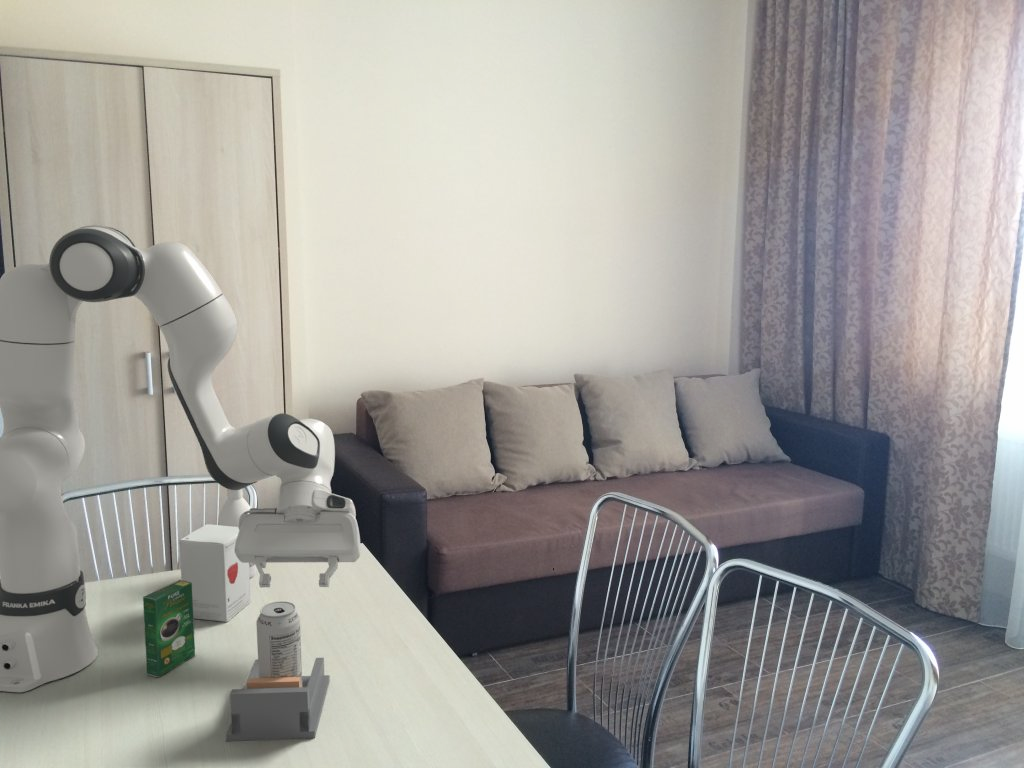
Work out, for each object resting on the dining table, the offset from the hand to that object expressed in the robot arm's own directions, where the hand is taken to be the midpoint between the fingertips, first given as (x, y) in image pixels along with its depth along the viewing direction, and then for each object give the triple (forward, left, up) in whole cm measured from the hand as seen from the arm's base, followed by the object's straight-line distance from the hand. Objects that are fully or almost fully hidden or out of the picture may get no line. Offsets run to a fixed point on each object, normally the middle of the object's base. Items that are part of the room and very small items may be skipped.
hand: (294, 586), depth 135 cm
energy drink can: (0, -15, -12) cm, 19 cm away
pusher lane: (0, -14, -13) cm, 19 cm away
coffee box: (-20, 0, -13) cm, 24 cm away
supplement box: (-18, +20, -13) cm, 29 cm away
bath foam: (-18, +36, -13) cm, 42 cm away
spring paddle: (0, -19, -12) cm, 22 cm away
